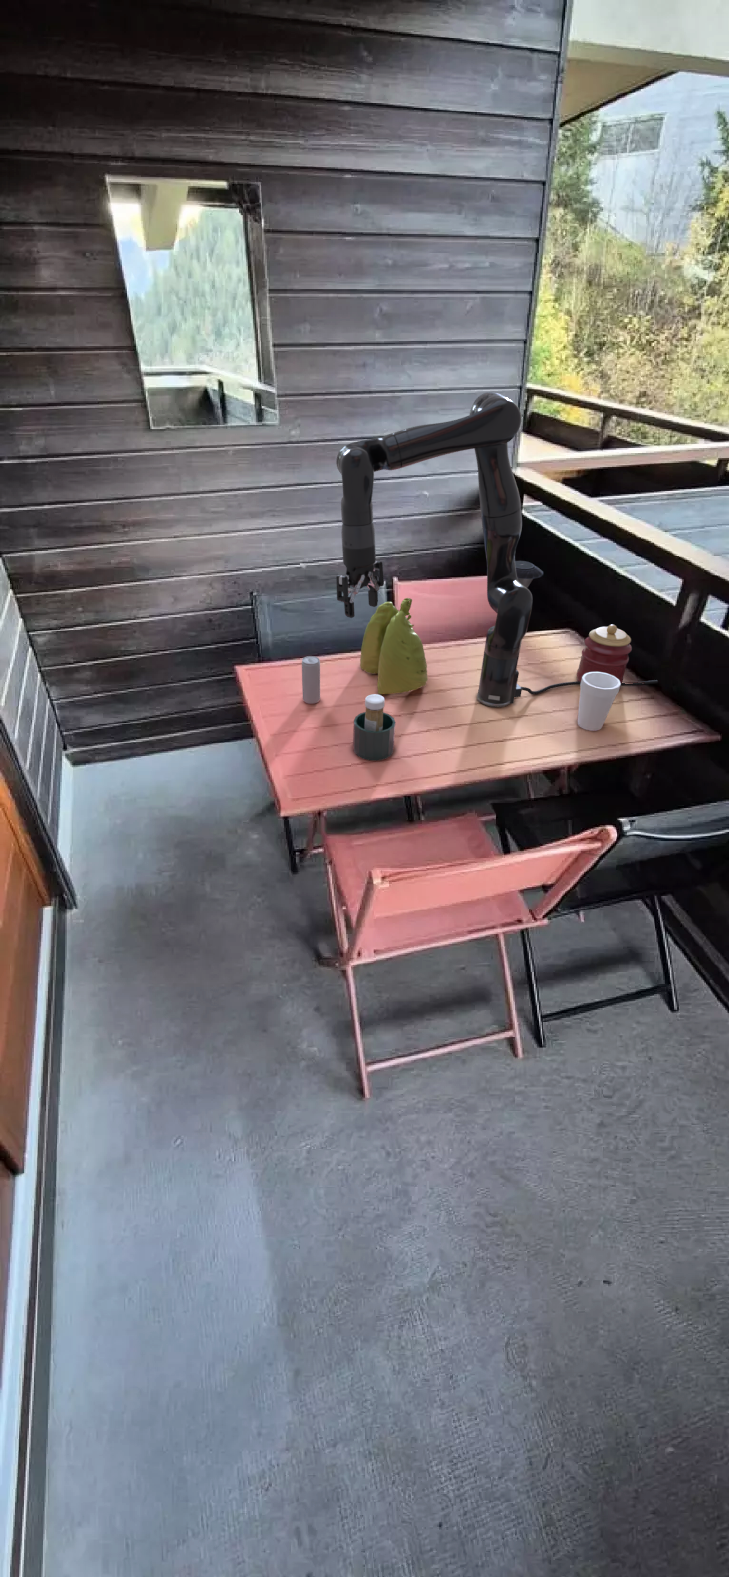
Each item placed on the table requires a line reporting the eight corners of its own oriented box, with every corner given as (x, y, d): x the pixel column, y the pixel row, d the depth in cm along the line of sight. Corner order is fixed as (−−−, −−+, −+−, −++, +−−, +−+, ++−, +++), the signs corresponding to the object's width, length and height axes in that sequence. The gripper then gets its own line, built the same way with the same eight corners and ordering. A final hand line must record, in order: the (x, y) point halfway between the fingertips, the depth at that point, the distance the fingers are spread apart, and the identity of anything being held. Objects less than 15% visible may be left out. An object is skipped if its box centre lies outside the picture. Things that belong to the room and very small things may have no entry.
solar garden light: (533, 663, 212) (553, 565, 194) (511, 676, 205) (528, 575, 187) (500, 650, 218) (516, 554, 201) (477, 662, 211) (491, 564, 193)
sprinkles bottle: (385, 748, 170) (388, 699, 162) (370, 753, 168) (372, 704, 160) (375, 739, 173) (377, 691, 165) (359, 744, 171) (361, 696, 163)
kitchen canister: (626, 679, 205) (642, 623, 195) (613, 697, 196) (630, 639, 186) (583, 667, 211) (597, 612, 200) (569, 684, 202) (582, 627, 191)
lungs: (434, 694, 194) (443, 612, 180) (382, 702, 190) (386, 618, 176) (402, 655, 213) (408, 578, 199) (354, 661, 209) (356, 582, 194)
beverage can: (306, 706, 187) (306, 665, 180) (299, 698, 190) (298, 657, 183) (323, 702, 189) (323, 662, 182) (315, 694, 192) (315, 654, 185)
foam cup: (609, 719, 187) (621, 675, 179) (607, 736, 179) (619, 692, 172) (573, 712, 189) (583, 669, 181) (569, 729, 182) (580, 685, 174)
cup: (388, 737, 176) (390, 709, 171) (397, 759, 168) (399, 730, 163) (350, 740, 174) (350, 712, 169) (357, 762, 166) (358, 733, 162)
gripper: (350, 553, 152) (354, 624, 161) (391, 537, 161) (392, 605, 170) (325, 548, 156) (330, 617, 165) (366, 532, 165) (368, 599, 174)
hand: (361, 611), depth 168 cm, fingers open, 8 cm apart
